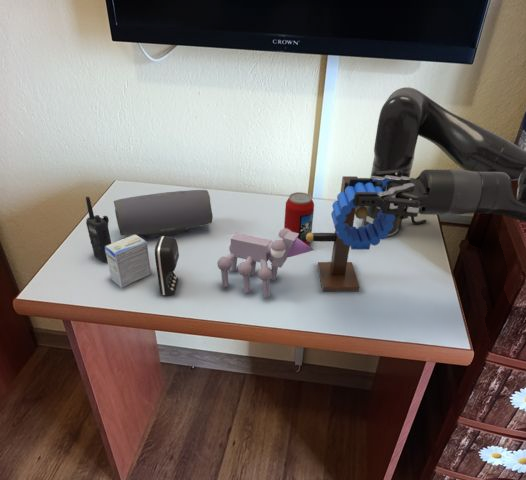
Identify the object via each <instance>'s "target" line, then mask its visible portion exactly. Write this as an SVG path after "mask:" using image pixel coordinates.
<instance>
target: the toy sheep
mask: <svg viewBox="0 0 526 480" xmlns="http://www.w3.org/2000/svg"><path fill="white" fill-rule="evenodd" d="M298 235H299V233H295V232H291V230H289V229H284V228H283V229H280V231H279V233H278V238H277V239H275V240H274V241H272V239H268V238H264V237H259V236H254V235H249V234H244V233H240V232H235V233H234V235H232V236H231V238H230V244H229V247H228V250H229V255H227V256H221V257H219V258H218V260H217V267H218V269H219V270H220V275H221V283H222V287H223V288H228V287H229V285H230V284H229V274H228V271H231V272H238V274H239V275H240V276H242V280H243V293H245V294H248V293H250V292H251V280H250V279H251V278H250V276H255V274H256V267H257V263H260V268H259V270H258V271H257V276H258V278H259V279H260V281H262V287H263V297H264V298H270V297H271V287H270V284H271V283H270V281H276V280H277V276H278V273H279V271H278V270H279V268H280V269H281V268H282V267H283V266H284V264H285V263H286V261H287V259H288V258H291V257H295V256H299V255H301V254H306V253H309V252H312V251H314V248H312V247H311V246H309V244H308V245H307V244H305V243H304V242H302V241H301V240H300V239H298V238H297V237H298ZM238 259H242V260H245V261H242V262H241V263H239V264H238ZM268 261H269V262H270V266H271V267H269V266H268ZM237 265H238V267H237Z"/></svg>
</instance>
